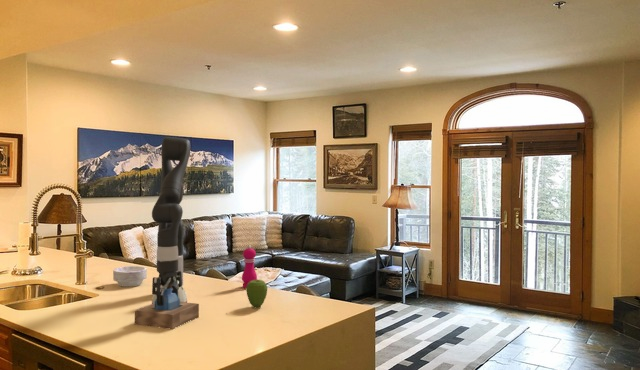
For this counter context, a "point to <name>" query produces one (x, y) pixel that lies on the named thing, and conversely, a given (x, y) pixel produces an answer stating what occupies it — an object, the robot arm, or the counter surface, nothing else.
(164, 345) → the counter surface
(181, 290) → the kitchen timer
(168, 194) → the robot arm
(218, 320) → the counter surface
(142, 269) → the paper bowls
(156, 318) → the holder block
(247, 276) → the pepper mill
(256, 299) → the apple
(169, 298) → the perfume bottle
